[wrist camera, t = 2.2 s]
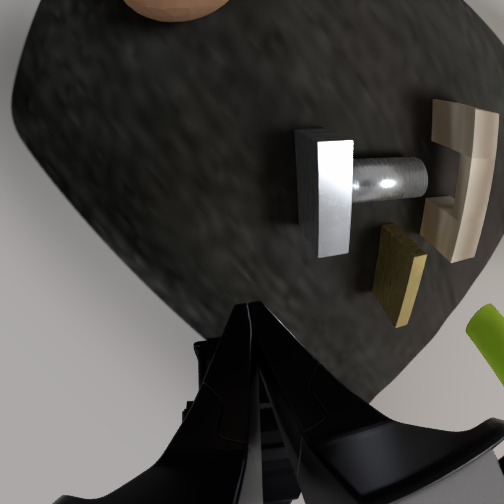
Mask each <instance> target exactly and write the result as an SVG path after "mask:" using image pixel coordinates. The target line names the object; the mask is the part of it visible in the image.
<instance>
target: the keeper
mask: <svg viewBox="0 0 504 504" xmlns="http://www.w3.org/2000/svg"><path fill="white" fill-rule="evenodd" d="M426 256H427V254H426V253H425V252H424V251H423V250H422V249H421V248H420V247H419V246H418V245H417V244H416V243H415V242H413V241H412V240H411V239H410V238H409V237H408V236H407V235H406V234H405V233H404V232H403V231H402V230H401V229H400V228H398V227H397V226H396V225H395V224H394V223H391V224H384V225H382V226H381V234H380V242H379V250H378V257H377V263H376V270H375V276H374V282H373V287H372V293H373V294H374V296H375V297H376V299H377V300H378V302H379V303H380V305H381V306H382V308H383V309H384V311H385V312H386V314H387V315H388V317H389V318H390V320H391V322H392V323H393V325H394V326H395V328H397V327H400V326H404V325H407V323H408V320H409V317H410V314H411V311H412V308H413V304H414V301H415V298H416V294H417V291H418V287H419V284H420V280H421V276H422V272H423V269H424V265H425V260H426Z"/></svg>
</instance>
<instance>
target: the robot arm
mask: <svg viewBox="0 0 504 504" xmlns="http://www.w3.org/2000/svg"><path fill="white" fill-rule="evenodd" d="M198 346H199V347H198ZM194 351H195V354H196V356H197V359H198V370H199V371H198V372H199V391H198V393H197V396H196V398H195V400H194V402H193V401H187V407H186V409H184V411H183V412H182V424H181V426H180V427H179V429H178V431H177V432H176V434H175V435H174V437H173V439H172V440H171V442H170V444H169V445H168V447H167V449H166V450H165V451H164V453H163V454H162V456H161V457H160V458H159V460H158V461H157V462H156V463H155V464H154V465H153V466H151V467H150V468H149V469H147V470H146V471H144V472H143V473H141V474H140V475H138V476H137V477H136V478H134V479H132V480H131V481H129V482H128V483H126V484H125V485H123V486H121V487H120V488H118V489H117V490H115V491H113V492H112V493H110V494H108V495H106V496H104V497H101V498H97V499H83V498H79V497H74V496H69V495H63V496H61V497H60V498H58V499H57V500H56V501H55V502H54V503H53V504H290V503H291V502H292V500H295V499H298V498H299V495H300V493H302V495H303V498H304V501H305V503H306V504H504V456H503V457H501V458H500V459H499V460H498V459H497V457H496V455H495V453H494V451H493V448H494V447H496V446H497V445H498V444H499V443H501V442H502V441H503V440H504V420H500V419H496V418H490V419H488V420H486V421H484V422H483V423H481V424H479V425H478V426H476V427H475V428H473V429H471V430H467V431H461V432H451V431H444V430H437V429H431V428H425V427H419V426H414V425H409V424H404V423H400V422H397V421H394V420H392V419H390V418H388V417H386V416H385V415H383V414H382V413H380V412H379V411H378V410H376V409H375V408H373V407H372V406H371V405H369V404H368V403H367V402H365V401H364V400H363V399H361V398H360V397H359V396H357V395H356V394H355V393H353V392H352V391H351V390H349V389H348V388H347V387H346V386H345V385H343V384H342V383H341V382H340V381H339V380H337V379H336V378H335V377H334V376H333V375H332V374H331V373H330V372H329V371H328V370H327V369H326V368H325V367H324V366H323V365H322V364H320V362H319V361H318V360H317V359H316V358H315V357H314V356H313V355H312V354H311V353H310V352H309V351H308V350H307V349H306V348H305V347H304V346H303V345H302V344H301V343H300V342H299V341H298V339H297V338H296V337H295V336H294V335H293V334H292V333H291V332H290V331H289V330H288V329H287V328H286V327H285V326H284V325H283V324H282V323H281V322H280V321H279V320H278V319H277V318H276V317H275V315H274V314H273V313H272V312H271V311H270V310H269V309H268V308H267V307H266V306H265V305H264V304H263V303H262V302H261V301H256V302H250V303H248V304H247V303H243V304H236V305H235V306H234V308H233V310H232V312H231V315H230V317H229V320H228V322H227V324H226V327H225V329H224V332H223V334H222V336H221V339H214V340H206V341H198V342H195V343H194Z"/></svg>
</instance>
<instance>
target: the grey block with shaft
mask: <svg viewBox="0 0 504 504" xmlns="http://www.w3.org/2000/svg"><path fill="white" fill-rule="evenodd" d="M294 133H295V149H296V168H297V190H298V217H299V226H300V228H301V229H302V231H303V233H304V234H305V236H306V238H307V239H308V241H309V243H310V244H311V246H312V248H313V250H314V251H315V253H316V255H317V256H318V258H321V257H327V256H333V255H339V254H345V253H348V250H349V237H350V222H351V204H355V203H364V202H373V201H383V200H392V199H402V198H413V197H421V196H423V195H424V193H425V192H426V190H427V186H428V174H427V170H426V167H425V165H424V163H423V162H422V161H421V160H420V159H419V158H417V157H391V158H366V159H353V140H350V139H348V138H346V137H344V136H341V135H339V134H337V133H334V132H332V131H330V130H327V129H325V128H309V129H294Z"/></svg>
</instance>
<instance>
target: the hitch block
mask: <svg viewBox="0 0 504 504" xmlns="http://www.w3.org/2000/svg"><path fill="white" fill-rule="evenodd" d="M498 124H499V114H497V113H494V112H490V111H487V110H483V109H480V108H476V107H472V106H468V105H464V104H460V103H456V102H450V101H444V100H437V99H433V110H432V138H431V141H433V142H435V143H438V144H440V145H443V146H445V147H448V148H450V149H452V150H455V151H457V152H459V153H461V156H460V165H459V173H458V180H457V187H456V193H455V199H453V198H452V197H450V196H442V197H431V198H426V199H425V206H424V213H423V219H422V225H421V230H420V235H421V236H423V237H424V238H425V239H426V240H427V241H428V242H429V243H430V244H431V245H432V246H434V247H435V248H436V249H437V250H438V251H439V252H440V253H441V254H442V255H443V256H444V257H445V258H446V259H447V260H448V261H449V262H450V263H452V262H456V261H460V260H464V259H468V258H472V257H474V255H475V252H476V248H477V245H478V241H479V238H480V234H481V230H482V226H483V222H484V218H485V214H486V209H487V204H488V200H489V194H490V189H491V183H492V177H493V171H494V164H495V156H496V148H497V137H498Z"/></svg>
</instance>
